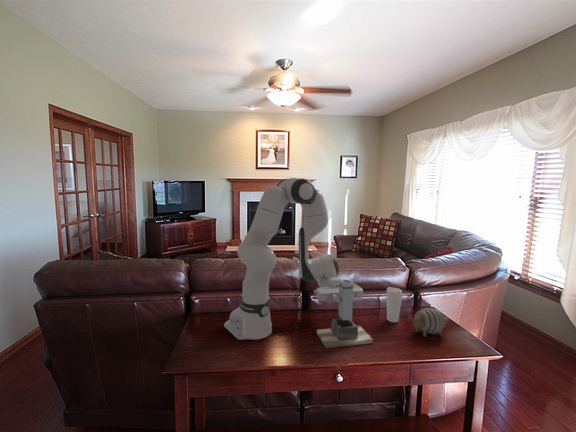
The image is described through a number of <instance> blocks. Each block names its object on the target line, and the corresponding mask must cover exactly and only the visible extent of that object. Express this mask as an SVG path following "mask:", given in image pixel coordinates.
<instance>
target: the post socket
mask: <svg viewBox="0 0 576 432" xmlns="http://www.w3.org/2000/svg"><path fill="white" fill-rule="evenodd" d="M316 334H317V336H318V337H319V339H320V341H321V343H322V344H323V345H324V347H325V348H326V349H328V348H329V349H330V348H340V347H341V348H342V347H350V346H359V345H369V344H374V339H373V338H372V336H370V334H368V333H367V331H366V330H365V329H364V328H363V327H362V326H361V325H356V324H355V322H354V321H353V319H352V320H342V319H341V318H340V317H339V318H337V317H336V318H331V327H330V328H322V329H321V328H320V329H316Z"/></svg>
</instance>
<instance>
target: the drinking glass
mask: <svg viewBox="0 0 576 432" xmlns="http://www.w3.org/2000/svg"><path fill="white" fill-rule="evenodd" d="M385 295H386V319H387V321H388V322H390V323H398V322H400V321H399V320H400V312H401V304H402V300H403V299H402V297H403V291H402V289H400V288H397V287H388V288H386V293H385Z"/></svg>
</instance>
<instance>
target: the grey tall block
mask: <svg viewBox="0 0 576 432" xmlns="http://www.w3.org/2000/svg"><path fill="white" fill-rule="evenodd" d="M339 297H341V298H342V302H339V303H338V313H337V315H338V316H339V318H341V319H342V320H352V321H353V302H354V301H353V286H352V285H351V284H350V283H348V282H345V283H339Z"/></svg>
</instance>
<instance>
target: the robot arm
mask: <svg viewBox="0 0 576 432" xmlns="http://www.w3.org/2000/svg"><path fill="white" fill-rule="evenodd" d="M323 195H324V194H323V192H321V191H320V190H318V189H317V188H315V186H314V184H313V182H311V181H310V180H309V179H306V178H298V177H289V178H284V179H282V180H280V182H278V184H277V185H271V186H268V187H266V188H265V190H264V192H263V194H262V195H261V197H260V200H259V202H258V205H257V209H256V211H255V215H254V217H253V219H252V223H251V225H250V228H249V229H248V231H247V233H246V235H245V236H244V239H243V241H242V242H240V244H239V245H238V246H237V256H238V258H239V259H240V261H241V262H242V263H243V264H244V265H245V266H246V271H245V272H246V273H245V277H244V280H242V298H241V299H239V300H238V303H240V304H239V306H238V307H237V308H235V309H234V310H233V311H231V312H230V315H229V319H228V320H227V321H225V322H224V324H223V328H225V329H226V330H227V331H228V332H229V333H231V334H232V336H234V337H235V338H236V339H237V340H241V341H242V340H261V339H264V338H267V337H268V336H270V335H271V334H272V333H273V329H272V326H273V322H272V321H271V310H270V305H271V304H270V303H271V302H270V298H269V295H270V294H269V290H270V286H269V285H270V284H269V283H270V278H271V274H272V271H273V270H274V268H275V267H276V264H277V255H276V253H274V250H272V249H271V247H269V246H268V245H269V243H270V241H271V240H272V238H273V237H274V236H275V235H277V233H278V231H279V230H278V229H279V227H280V225H281V224H280V223H281V221H282V217H283V215H284V214H283V213H284V212H285V207H286V206H287V205H288V204H289V203H290V204H296V205H297V204H299V205H300V207H301V209H302V215H303V223H302V226H300V228H299V231H298V268H297V269H298V270H297V271H298V275H299V277H300V279H302V281H305V282H307V283H309V282H313V281H315V280H316V282H317V284H318V287H317V288H316V289H314V290H313V294H316V298H317V300H318V301H320V302H328V301H335V302H337V303H338V304H339V302H342V298H341V297H339V283H345V282H348V283H350V284H351V285H352V286H353V302H355V299H356V300H357V299H362V298H363V297H364V290H363V288H362V287H361V286H359V285H358V284H356V283H354V281H352V280H348V279H341V278H337V277H338V276H339V272H340V271H339V263H338V262H337V260H336V259H335V257H334V256H333V255H332V254H323V255H319V256H317V257H313V258H309V257H310V256H309V246H310V242H311V241H312V240H313V239H314V237H316V236H317V235H319V234H320V233H322V232H323V231H324V230H325V229H326V228H327V225H328V223H329V213H328V209H327V205H326V201H325V198H324V196H323Z"/></svg>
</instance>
